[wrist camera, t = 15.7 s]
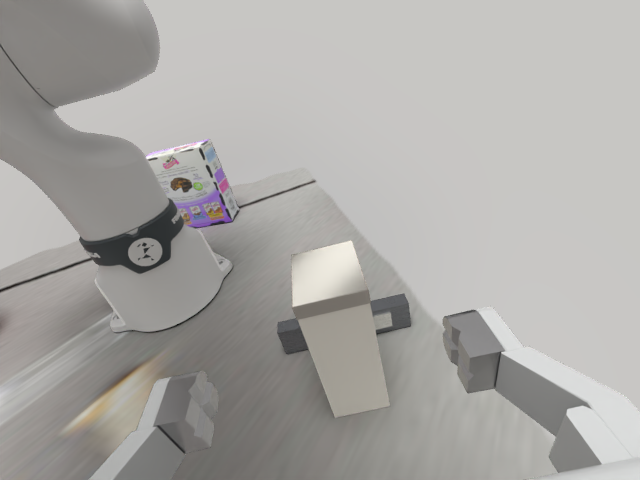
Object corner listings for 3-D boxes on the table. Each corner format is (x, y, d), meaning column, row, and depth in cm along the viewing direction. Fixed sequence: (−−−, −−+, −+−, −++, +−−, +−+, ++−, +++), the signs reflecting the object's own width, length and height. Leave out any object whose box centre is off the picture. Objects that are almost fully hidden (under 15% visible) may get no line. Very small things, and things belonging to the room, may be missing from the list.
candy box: (240, 209, 71) (211, 137, 63) (232, 222, 66) (199, 146, 58) (186, 218, 74) (150, 150, 65) (174, 232, 69) (134, 160, 60)
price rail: (411, 327, 34) (409, 304, 32) (286, 355, 35) (277, 334, 33) (406, 316, 36) (403, 293, 34) (286, 343, 36) (277, 322, 34)
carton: (334, 418, 28) (291, 307, 21) (327, 359, 33) (291, 254, 26) (390, 406, 28) (368, 289, 20) (374, 349, 33) (351, 239, 26)
